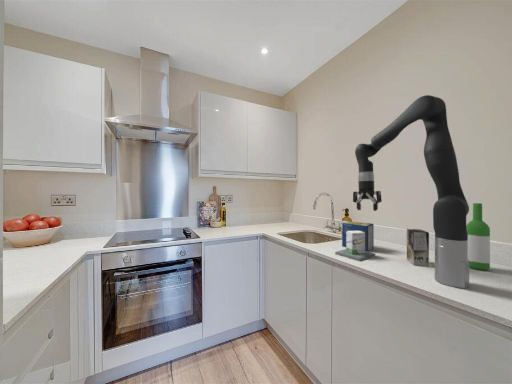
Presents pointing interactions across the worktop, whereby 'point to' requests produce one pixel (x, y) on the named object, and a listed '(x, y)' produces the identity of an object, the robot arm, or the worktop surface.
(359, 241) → the ink box
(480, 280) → the worktop surface
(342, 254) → the plate
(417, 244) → the coffee box
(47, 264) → the worktop surface
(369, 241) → the protein box
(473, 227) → the wine bottle
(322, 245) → the worktop surface
